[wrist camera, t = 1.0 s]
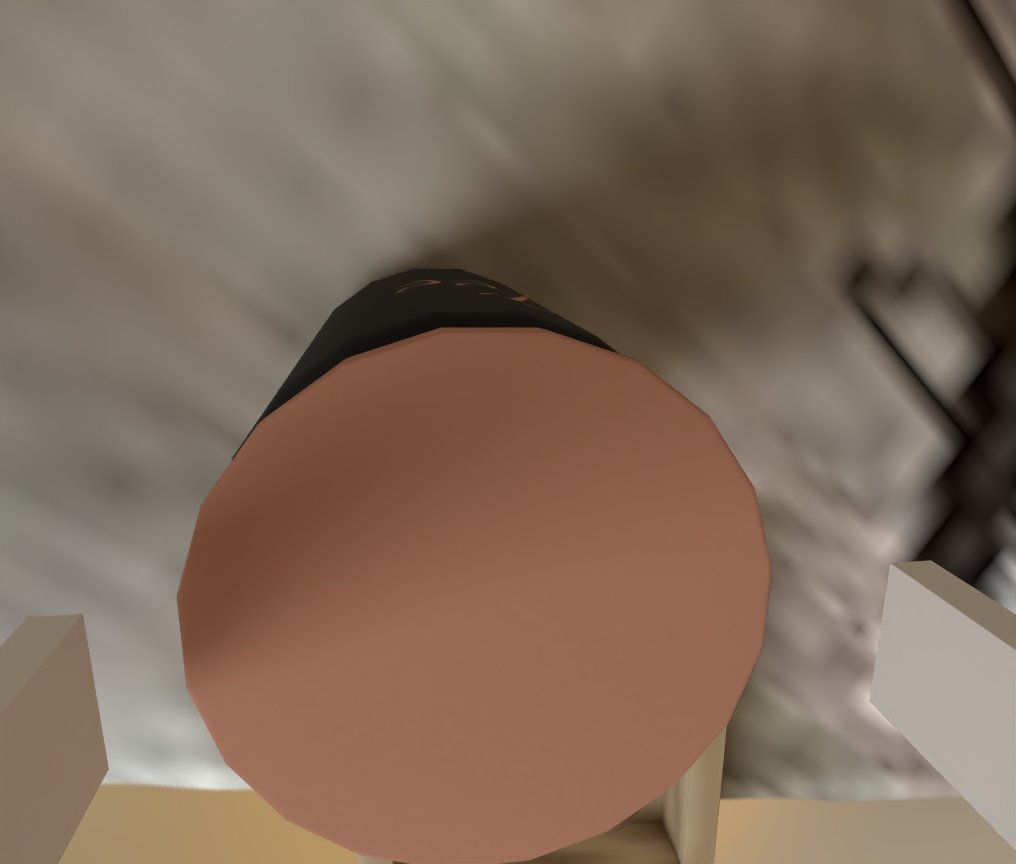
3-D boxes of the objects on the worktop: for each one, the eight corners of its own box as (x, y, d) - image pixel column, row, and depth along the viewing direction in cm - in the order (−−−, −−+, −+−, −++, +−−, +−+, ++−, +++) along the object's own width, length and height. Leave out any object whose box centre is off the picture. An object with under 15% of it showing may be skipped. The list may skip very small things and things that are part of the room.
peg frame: (364, 869, 36) (361, 937, 33) (345, 564, 32) (339, 605, 28) (682, 831, 38) (711, 891, 35) (705, 542, 34) (740, 578, 31)
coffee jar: (615, 397, 32) (882, 604, 14) (437, 570, 32) (486, 959, 15) (434, 205, 28) (498, 179, 11) (242, 402, 29) (30, 655, 12)
